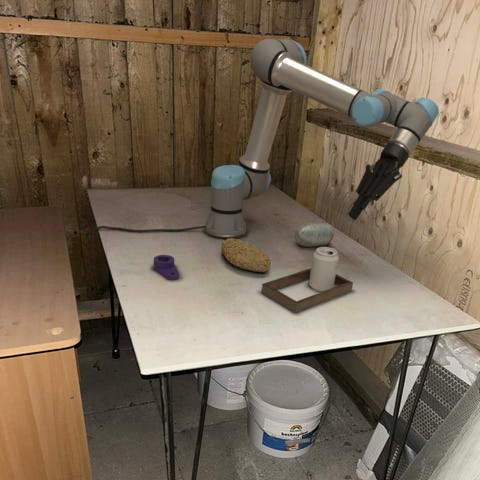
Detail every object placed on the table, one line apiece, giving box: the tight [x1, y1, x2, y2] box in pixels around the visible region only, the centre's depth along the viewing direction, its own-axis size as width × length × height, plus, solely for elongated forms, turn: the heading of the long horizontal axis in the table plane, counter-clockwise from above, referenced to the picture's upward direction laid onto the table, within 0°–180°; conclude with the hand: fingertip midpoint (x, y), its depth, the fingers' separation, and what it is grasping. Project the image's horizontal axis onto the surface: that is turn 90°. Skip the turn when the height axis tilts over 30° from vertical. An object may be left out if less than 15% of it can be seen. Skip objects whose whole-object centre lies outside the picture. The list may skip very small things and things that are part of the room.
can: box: [308, 246, 340, 292], centre depth 142 cm, size 8×8×12 cm
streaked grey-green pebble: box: [295, 221, 335, 248], centre depth 172 cm, size 14×10×10 cm
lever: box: [153, 254, 180, 281], centre depth 146 cm, size 12×6×3 cm, turn 29°
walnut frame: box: [261, 267, 354, 314], centre depth 141 cm, size 24×14×3 cm, turn 129°
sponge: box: [221, 238, 272, 273], centre depth 154 cm, size 13×8×20 cm
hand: (351, 217), depth 140 cm, fingers closed
